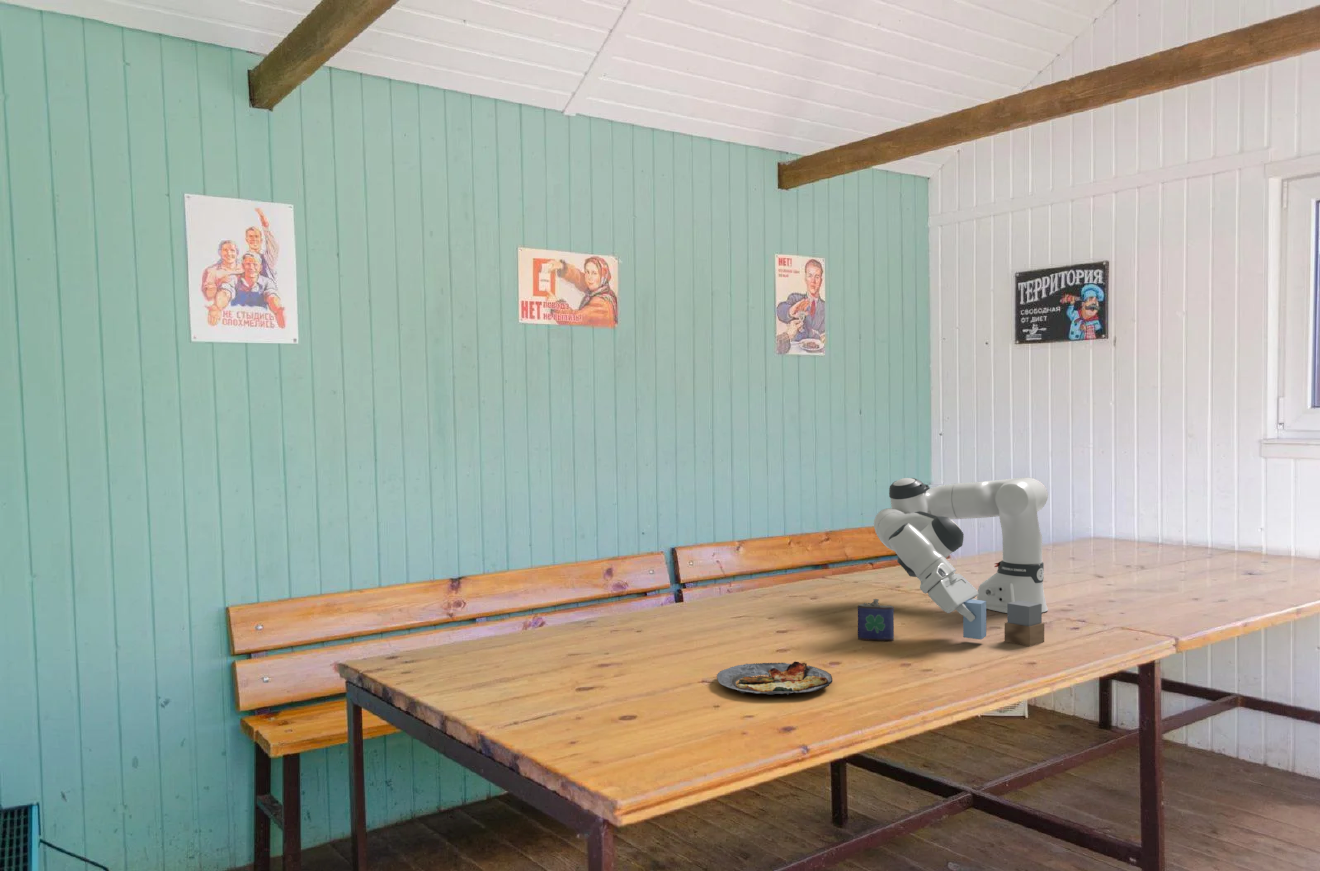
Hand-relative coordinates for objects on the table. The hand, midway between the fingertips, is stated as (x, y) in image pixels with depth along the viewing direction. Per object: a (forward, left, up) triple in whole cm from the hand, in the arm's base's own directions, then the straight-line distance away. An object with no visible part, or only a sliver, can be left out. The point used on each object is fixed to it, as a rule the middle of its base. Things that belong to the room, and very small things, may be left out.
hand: (977, 617), depth 247 cm
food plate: (-8, -66, -7) cm, 67 cm away
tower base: (+7, +11, -7) cm, 14 cm away
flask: (-20, -16, -7) cm, 26 cm away
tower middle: (+7, +11, -2) cm, 13 cm away
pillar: (-1, 0, -5) cm, 5 cm away
